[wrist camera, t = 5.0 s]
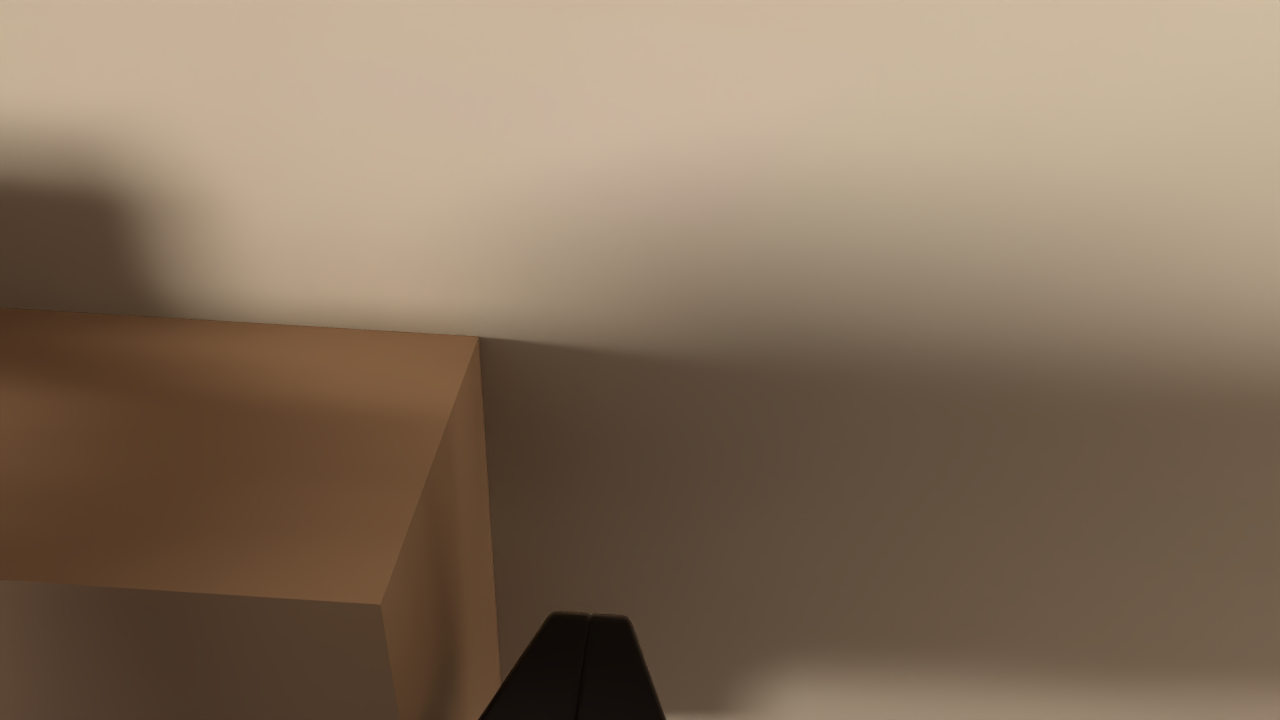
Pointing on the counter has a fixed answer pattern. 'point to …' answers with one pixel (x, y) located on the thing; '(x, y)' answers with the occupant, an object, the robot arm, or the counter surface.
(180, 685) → the brown square block
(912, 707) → the counter surface
